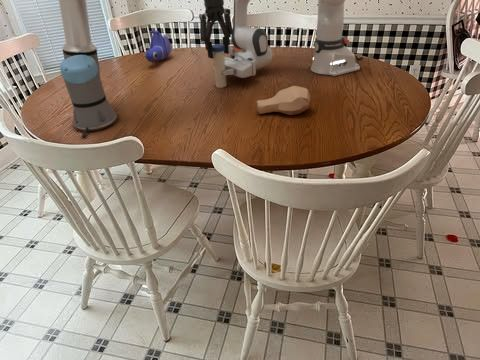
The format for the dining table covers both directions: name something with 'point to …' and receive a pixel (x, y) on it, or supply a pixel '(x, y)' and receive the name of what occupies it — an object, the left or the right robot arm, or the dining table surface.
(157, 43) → the toy
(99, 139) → the dining table surface
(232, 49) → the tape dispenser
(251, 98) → the dining table surface
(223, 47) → the lid
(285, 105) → the squash
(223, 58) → the jar
